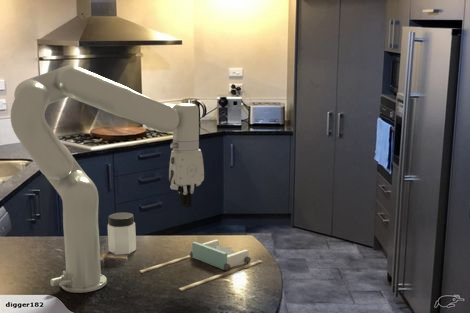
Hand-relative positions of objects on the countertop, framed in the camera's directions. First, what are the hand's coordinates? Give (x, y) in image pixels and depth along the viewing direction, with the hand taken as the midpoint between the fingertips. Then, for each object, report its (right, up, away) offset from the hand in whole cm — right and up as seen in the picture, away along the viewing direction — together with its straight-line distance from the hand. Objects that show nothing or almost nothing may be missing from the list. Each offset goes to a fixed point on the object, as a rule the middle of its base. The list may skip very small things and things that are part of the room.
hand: (186, 206), depth 186 cm
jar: (-23, -17, +20) cm, 35 cm away
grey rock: (+12, -18, +10) cm, 24 cm away
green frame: (+10, -18, +10) cm, 22 cm away
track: (+5, -19, +5) cm, 20 cm away
